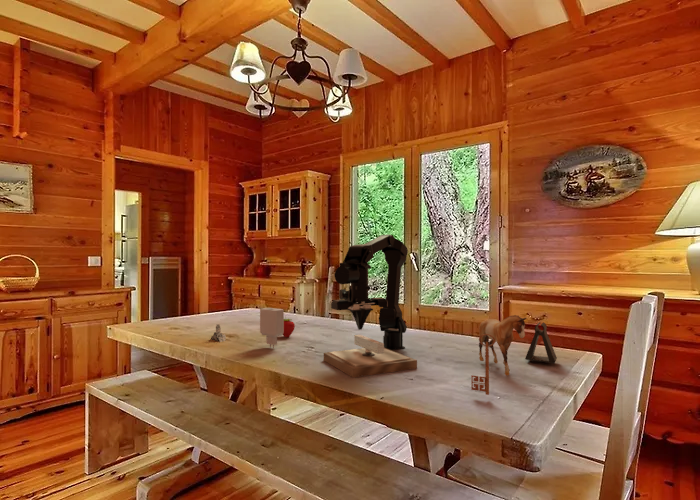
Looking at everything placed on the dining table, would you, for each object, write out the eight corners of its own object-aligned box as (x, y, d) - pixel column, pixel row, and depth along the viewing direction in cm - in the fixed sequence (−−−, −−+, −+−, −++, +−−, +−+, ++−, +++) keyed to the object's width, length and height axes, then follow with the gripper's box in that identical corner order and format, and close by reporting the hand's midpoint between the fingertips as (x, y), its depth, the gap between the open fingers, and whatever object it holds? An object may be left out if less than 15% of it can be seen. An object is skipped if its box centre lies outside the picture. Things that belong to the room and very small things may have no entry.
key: (471, 392, 104) (470, 332, 104) (471, 391, 105) (471, 332, 105) (495, 396, 101) (494, 334, 102) (495, 394, 102) (495, 334, 102)
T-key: (354, 348, 139) (354, 335, 139) (359, 348, 140) (359, 334, 140) (378, 359, 124) (378, 344, 124) (383, 358, 125) (383, 343, 125)
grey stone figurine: (239, 342, 168) (239, 323, 168) (220, 346, 161) (220, 326, 161) (227, 339, 174) (227, 321, 174) (208, 343, 167) (208, 324, 167)
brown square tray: (380, 353, 147) (380, 344, 147) (417, 368, 127) (416, 358, 127) (323, 360, 137) (323, 350, 137) (353, 377, 117) (353, 366, 117)
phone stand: (557, 359, 138) (556, 323, 138) (555, 363, 132) (554, 325, 133) (527, 355, 142) (527, 321, 143) (525, 359, 137) (524, 323, 137)
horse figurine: (528, 378, 116) (528, 316, 116) (506, 379, 115) (505, 317, 116) (489, 356, 142) (489, 305, 142) (471, 356, 141) (470, 306, 142)
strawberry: (288, 340, 169) (288, 316, 169) (275, 338, 173) (275, 315, 173) (298, 338, 174) (298, 314, 175) (284, 336, 178) (284, 313, 178)
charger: (275, 352, 149) (275, 310, 149) (258, 348, 155) (258, 308, 155) (285, 349, 153) (284, 309, 153) (268, 346, 158) (268, 307, 159)
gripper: (372, 280, 149) (372, 323, 149) (324, 282, 141) (324, 328, 141) (388, 282, 139) (388, 328, 139) (338, 284, 131) (338, 333, 131)
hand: (359, 329), depth 138 cm, fingers closed
